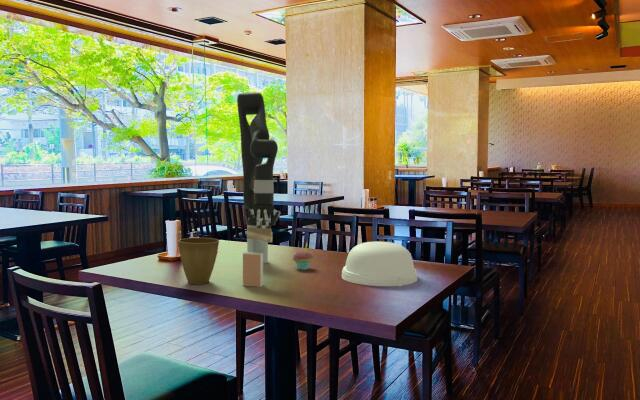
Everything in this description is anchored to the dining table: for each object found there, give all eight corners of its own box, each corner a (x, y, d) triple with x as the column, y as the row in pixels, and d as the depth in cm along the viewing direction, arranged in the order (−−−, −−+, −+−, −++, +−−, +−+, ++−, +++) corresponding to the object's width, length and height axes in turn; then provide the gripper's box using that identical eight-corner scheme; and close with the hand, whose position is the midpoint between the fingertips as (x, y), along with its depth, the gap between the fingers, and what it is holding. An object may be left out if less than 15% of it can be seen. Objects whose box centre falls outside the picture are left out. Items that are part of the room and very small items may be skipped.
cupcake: (316, 267, 224) (316, 240, 224) (307, 271, 217) (307, 242, 216) (298, 265, 228) (298, 238, 227) (289, 269, 220) (289, 241, 220)
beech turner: (258, 241, 210) (259, 231, 210) (280, 242, 208) (280, 232, 208) (246, 238, 197) (247, 227, 197) (269, 239, 195) (270, 228, 195)
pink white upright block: (245, 283, 194) (245, 251, 193) (263, 284, 192) (263, 252, 191) (242, 285, 191) (242, 253, 190) (260, 286, 189) (260, 254, 188)
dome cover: (328, 272, 216) (328, 239, 215) (390, 267, 228) (391, 235, 227) (365, 290, 186) (365, 251, 185) (434, 283, 198) (435, 246, 197)
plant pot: (200, 288, 185) (200, 244, 184) (169, 283, 192) (169, 240, 191) (227, 280, 198) (227, 239, 197) (197, 276, 205) (197, 236, 204)
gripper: (283, 191, 203) (283, 235, 204) (250, 190, 206) (250, 234, 207) (278, 192, 195) (277, 238, 197) (243, 191, 198) (243, 236, 200)
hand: (263, 236), depth 202 cm, fingers closed on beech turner, 2 cm apart
